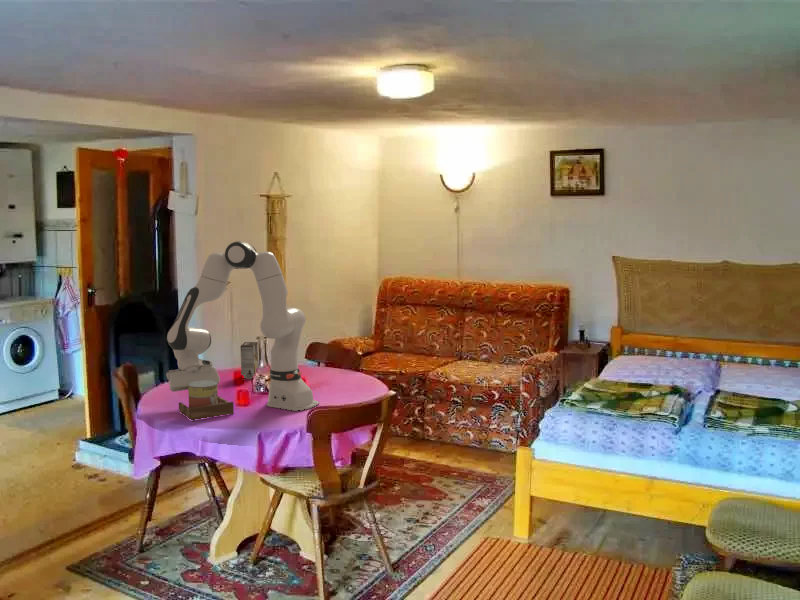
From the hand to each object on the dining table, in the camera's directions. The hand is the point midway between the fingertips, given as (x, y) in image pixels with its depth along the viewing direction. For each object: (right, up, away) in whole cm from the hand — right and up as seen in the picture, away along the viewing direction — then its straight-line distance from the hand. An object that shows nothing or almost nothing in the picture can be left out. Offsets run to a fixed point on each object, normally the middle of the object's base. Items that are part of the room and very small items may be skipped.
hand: (199, 396), depth 306 cm
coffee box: (+10, +2, +55) cm, 56 cm away
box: (+4, -6, -5) cm, 9 cm away
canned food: (+3, -6, -4) cm, 8 cm away
